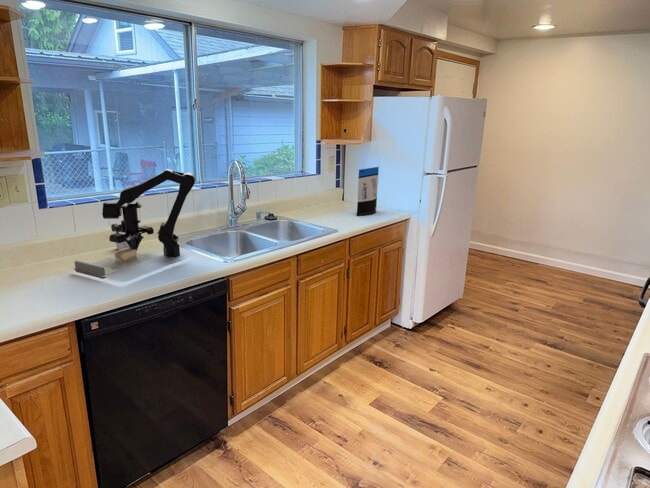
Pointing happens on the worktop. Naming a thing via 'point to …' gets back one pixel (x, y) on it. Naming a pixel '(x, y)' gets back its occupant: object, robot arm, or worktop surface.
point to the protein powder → (367, 191)
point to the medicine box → (122, 244)
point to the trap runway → (105, 266)
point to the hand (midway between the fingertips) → (134, 253)
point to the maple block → (125, 255)
